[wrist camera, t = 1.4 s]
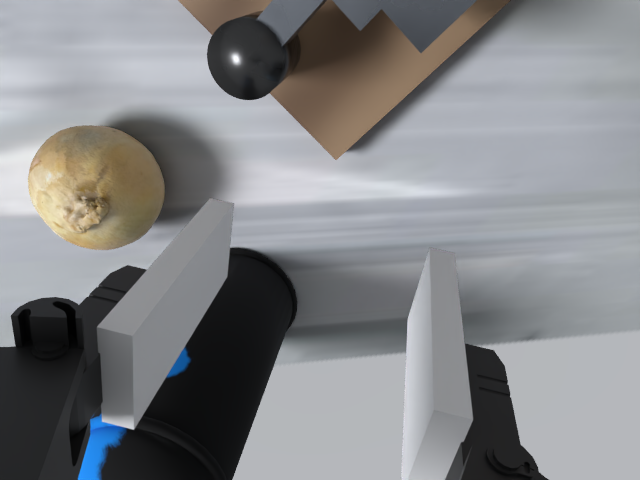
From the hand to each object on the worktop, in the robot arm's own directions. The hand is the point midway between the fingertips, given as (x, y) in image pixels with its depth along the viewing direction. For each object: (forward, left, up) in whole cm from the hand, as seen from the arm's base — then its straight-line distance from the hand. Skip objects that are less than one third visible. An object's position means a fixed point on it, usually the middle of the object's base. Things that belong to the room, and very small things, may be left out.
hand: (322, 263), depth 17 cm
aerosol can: (-3, +16, -17) cm, 23 cm away
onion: (+9, +15, -17) cm, 24 cm away
